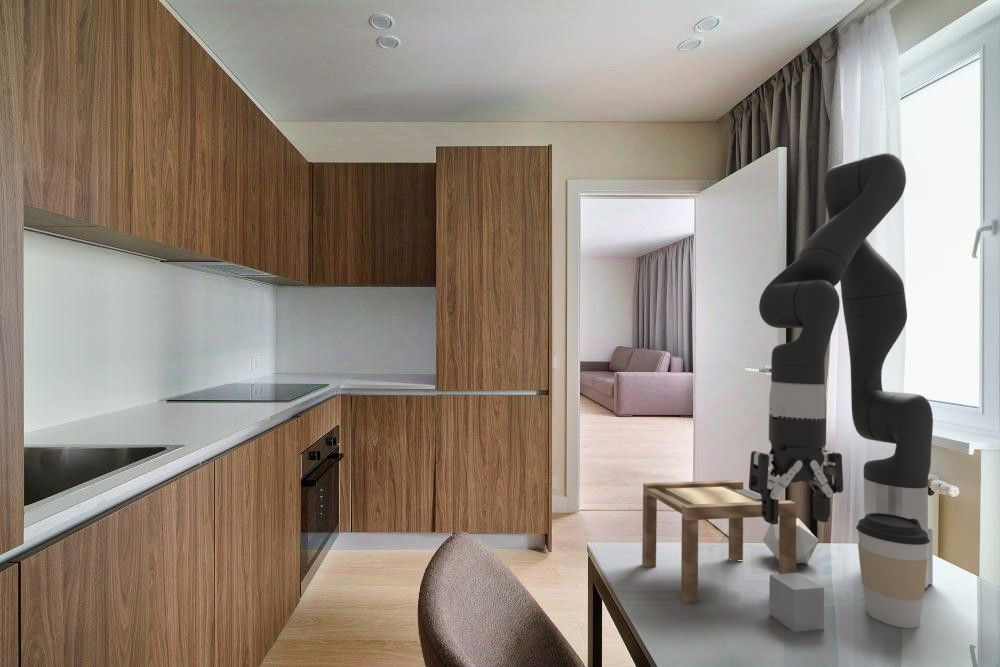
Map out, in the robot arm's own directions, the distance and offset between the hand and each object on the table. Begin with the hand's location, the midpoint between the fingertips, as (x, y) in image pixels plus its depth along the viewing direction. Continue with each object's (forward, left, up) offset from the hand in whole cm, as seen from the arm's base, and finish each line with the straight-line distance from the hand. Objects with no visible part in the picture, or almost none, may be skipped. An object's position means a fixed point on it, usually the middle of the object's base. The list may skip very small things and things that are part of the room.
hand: (795, 521), depth 78 cm
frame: (+3, -15, -15) cm, 21 cm away
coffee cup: (-16, +1, -15) cm, 22 cm away
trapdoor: (+3, -15, -3) cm, 16 cm away
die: (-16, -20, -15) cm, 30 cm away
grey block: (0, 0, -15) cm, 15 cm away
